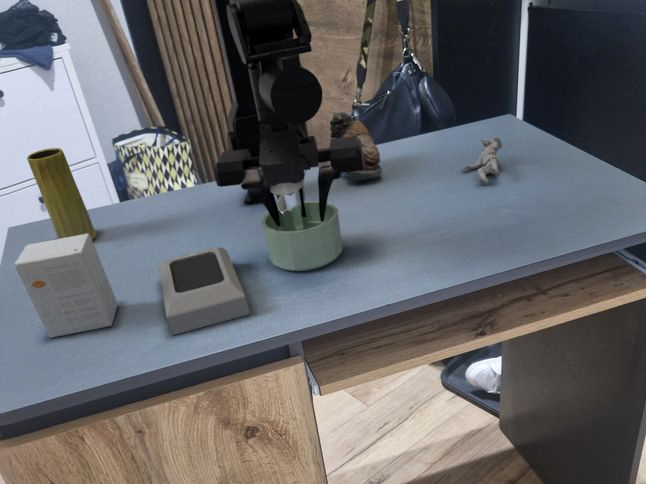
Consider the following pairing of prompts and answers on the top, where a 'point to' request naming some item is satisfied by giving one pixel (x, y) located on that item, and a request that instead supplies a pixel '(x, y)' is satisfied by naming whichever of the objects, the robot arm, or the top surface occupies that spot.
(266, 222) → the sage green round tub
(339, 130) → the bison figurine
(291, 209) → the milkshake
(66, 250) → the small box
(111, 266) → the top surface
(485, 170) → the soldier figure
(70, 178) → the vase
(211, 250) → the grey flat block
